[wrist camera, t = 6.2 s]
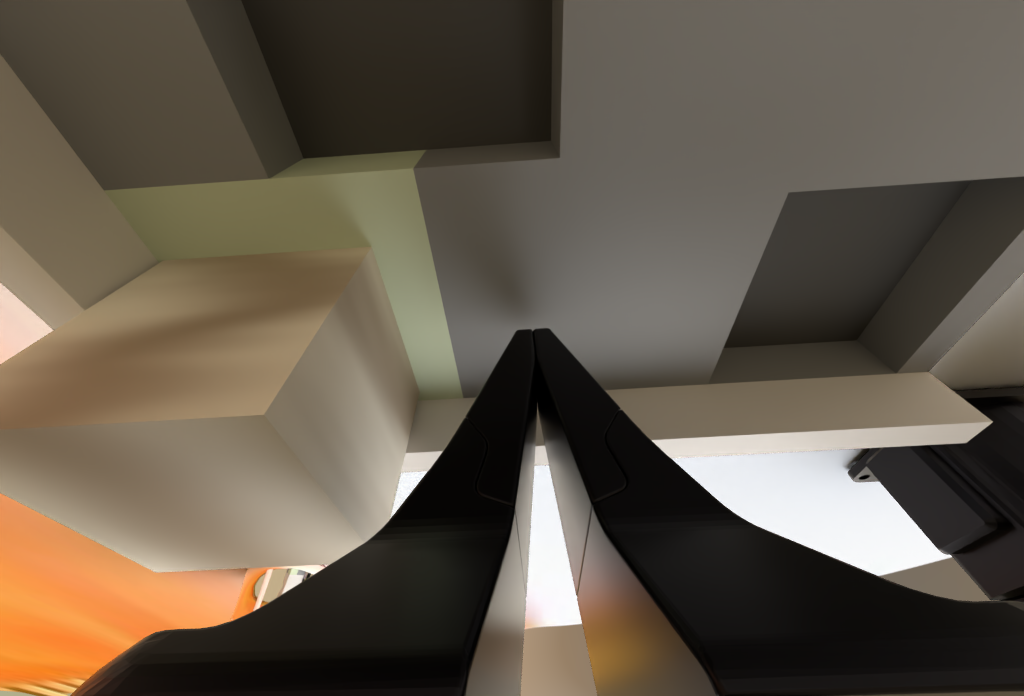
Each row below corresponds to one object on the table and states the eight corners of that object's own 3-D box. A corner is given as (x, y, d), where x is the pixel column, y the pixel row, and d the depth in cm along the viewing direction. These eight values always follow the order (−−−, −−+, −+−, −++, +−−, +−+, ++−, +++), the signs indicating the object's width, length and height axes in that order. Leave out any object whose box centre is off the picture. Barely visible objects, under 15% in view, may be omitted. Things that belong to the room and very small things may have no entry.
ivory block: (371, 246, 8) (264, 415, 5) (419, 392, 12) (379, 561, 8) (163, 260, 9) (-111, 435, 5) (268, 400, 12) (155, 572, 8)
